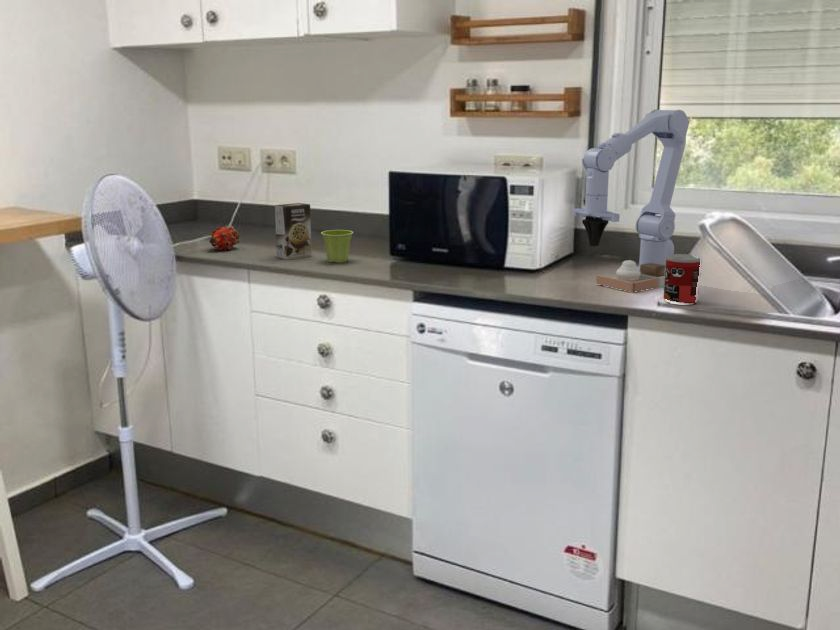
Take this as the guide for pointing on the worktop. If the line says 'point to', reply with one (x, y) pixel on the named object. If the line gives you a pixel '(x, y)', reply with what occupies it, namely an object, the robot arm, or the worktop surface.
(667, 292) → the canned food
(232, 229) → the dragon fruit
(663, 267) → the walnut block
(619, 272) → the muffin
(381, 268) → the worktop surface
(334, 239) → the plant pot
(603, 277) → the tray
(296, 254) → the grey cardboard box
